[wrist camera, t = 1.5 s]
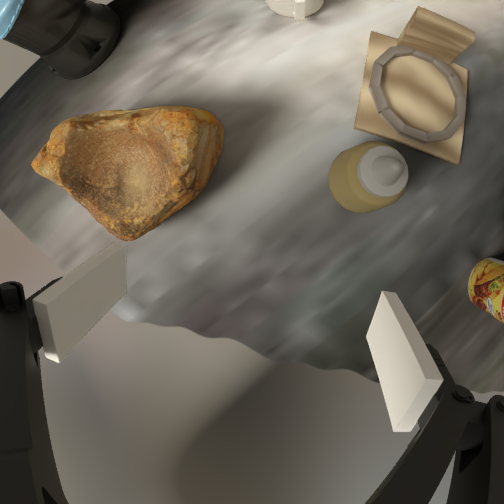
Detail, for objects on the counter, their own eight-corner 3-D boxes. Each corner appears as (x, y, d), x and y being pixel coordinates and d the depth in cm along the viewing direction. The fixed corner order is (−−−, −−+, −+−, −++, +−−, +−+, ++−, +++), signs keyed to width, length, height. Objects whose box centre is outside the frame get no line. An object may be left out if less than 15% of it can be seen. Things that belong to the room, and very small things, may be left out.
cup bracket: (455, 165, 37) (497, 156, 26) (353, 128, 39) (372, 104, 28) (464, 71, 35) (499, 45, 24) (370, 34, 36) (386, -6, 25)
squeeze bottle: (388, 159, 39) (446, 132, 21) (378, 218, 40) (434, 228, 22) (330, 146, 40) (354, 105, 22) (320, 205, 41) (339, 206, 23)
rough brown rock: (89, 232, 47) (28, 254, 32) (85, 130, 43) (22, 121, 29) (230, 232, 45) (204, 259, 30) (228, 113, 41) (202, 83, 26)
